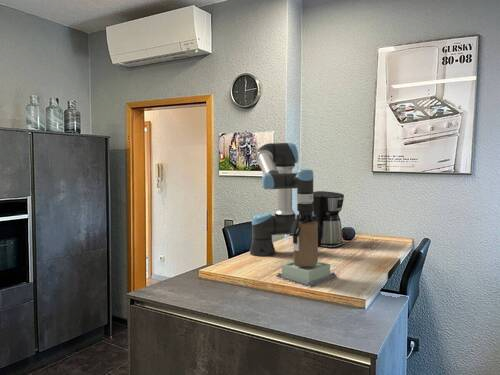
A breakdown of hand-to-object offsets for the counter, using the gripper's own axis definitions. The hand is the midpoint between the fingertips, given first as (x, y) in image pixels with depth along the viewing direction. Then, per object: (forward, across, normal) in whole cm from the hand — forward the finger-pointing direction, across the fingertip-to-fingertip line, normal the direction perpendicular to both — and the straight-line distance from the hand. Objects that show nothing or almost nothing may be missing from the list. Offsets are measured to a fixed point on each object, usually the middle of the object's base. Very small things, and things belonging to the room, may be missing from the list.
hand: (305, 247), depth 184 cm
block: (+8, 0, 0) cm, 8 cm away
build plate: (+14, 0, 0) cm, 14 cm away
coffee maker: (+15, +64, +38) cm, 76 cm away
